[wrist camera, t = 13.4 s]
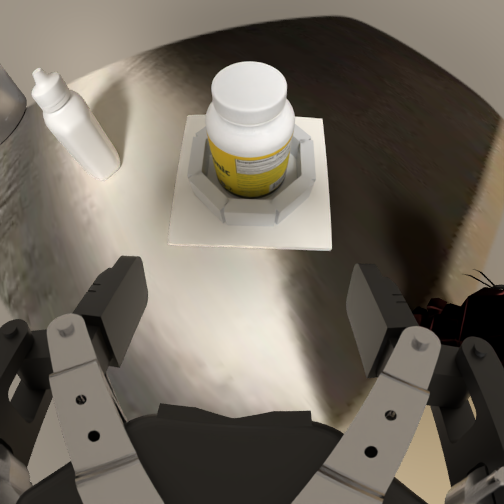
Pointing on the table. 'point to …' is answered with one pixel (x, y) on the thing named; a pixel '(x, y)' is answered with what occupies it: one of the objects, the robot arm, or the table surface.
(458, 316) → the cat figurine
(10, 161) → the table surface
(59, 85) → the eye dropper bottle
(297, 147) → the barrel socket
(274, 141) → the supplement bottle
